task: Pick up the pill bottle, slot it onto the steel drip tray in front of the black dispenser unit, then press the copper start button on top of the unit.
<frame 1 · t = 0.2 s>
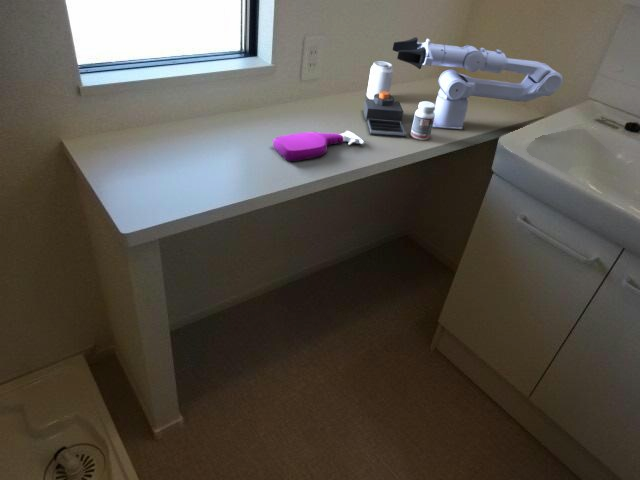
hand: (395, 50, 139), 21 cm above the table, tool horizontal, fingers open, 7 cm apart
drip tray: (385, 130, 146), on the table
spray bottle: (319, 148, 132), on the table
can: (376, 99, 166), on the table
pill bottle: (419, 136, 144), on the table
dispenser: (381, 117, 153), on the table
start button: (384, 95, 151), point 6 cm above the table, slide at 0.1 cm
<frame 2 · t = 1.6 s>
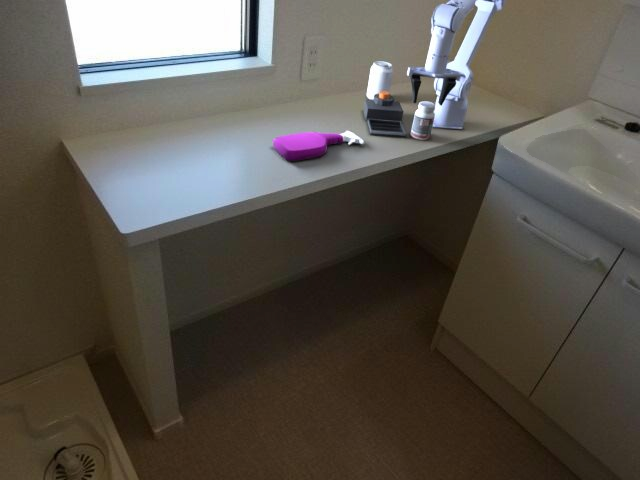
hand: (427, 103, 138), 10 cm above the table, tool pointing down, fingers open, 7 cm apart
nothing on the table moved.
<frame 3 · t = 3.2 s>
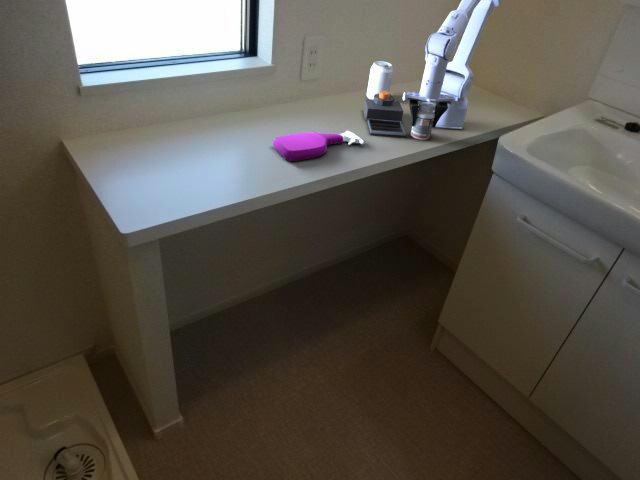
hand: (422, 125, 142), 3 cm above the table, tool pointing down, fingers closed on pill bottle, 5 cm apart
pill bottle: (419, 136, 144), on the table, touching gripper
everything else where it was.
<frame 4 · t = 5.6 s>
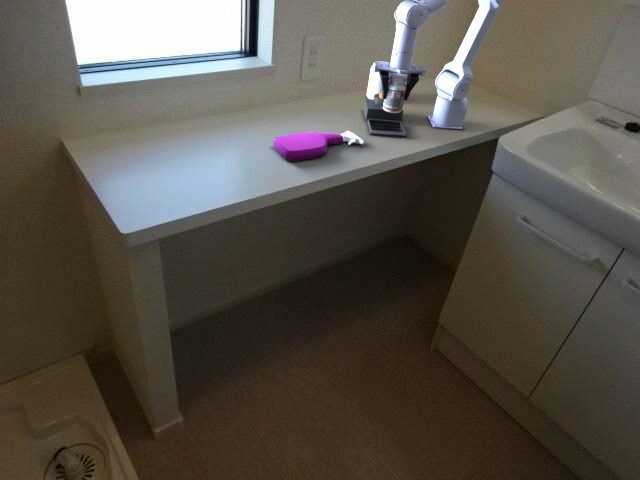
hand: (394, 98, 140), 10 cm above the table, tool pointing down, fingers closed on pill bottle, 5 cm apart
pill bottle: (392, 110, 142), point 6 cm above the table, touching gripper
everything else where it was.
when the fingers open (4 cm above the table, at t = 7.9 s): pill bottle stays where it is, resting on drip tray.
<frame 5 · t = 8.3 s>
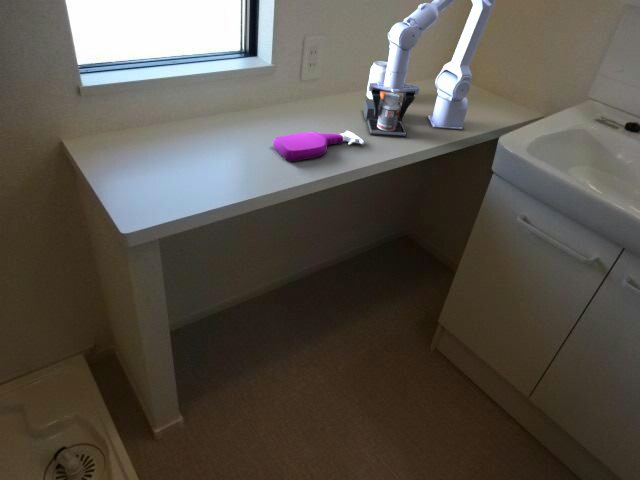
hand: (388, 116, 143), 4 cm above the table, tool pointing down, fingers open, 7 cm apart
pill bottle: (386, 128, 145), point 1 cm above the table, touching drip tray
everything else where it was.
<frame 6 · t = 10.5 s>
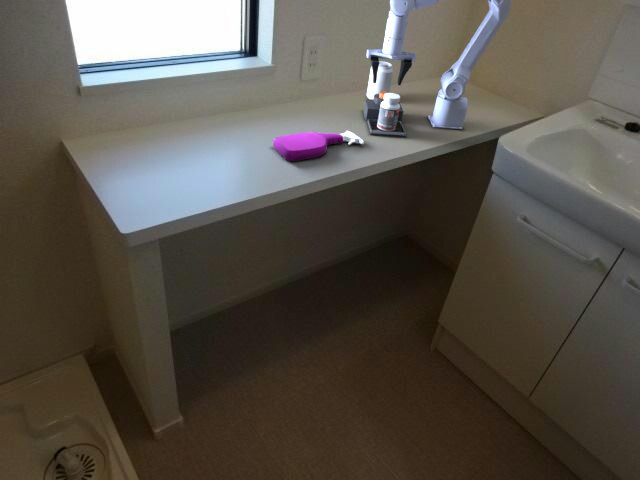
hand: (386, 83, 148), 10 cm above the table, tool pointing down, fingers open, 7 cm apart
nothing on the table moved.
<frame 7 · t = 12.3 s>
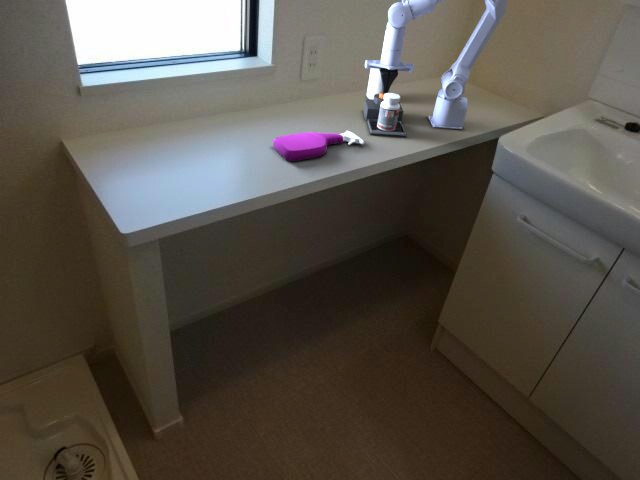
hand: (384, 93, 150), 7 cm above the table, tool pointing down, fingers closed, pressing on start button
start button: (384, 95, 151), point 6 cm above the table, slide at 0.0 cm, touching gripper
everything else where it was.
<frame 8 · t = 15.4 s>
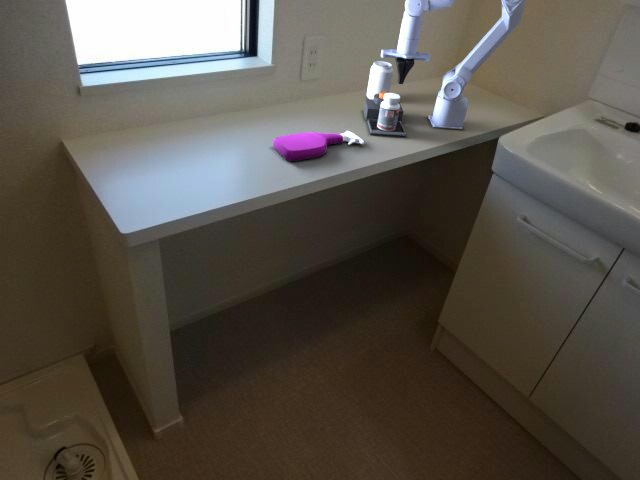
hand: (400, 83, 150), 10 cm above the table, tool pointing down, fingers closed
start button: (384, 95, 151), point 6 cm above the table, slide at 0.1 cm
everything else where it was.
at the end: pill bottle 0.0 cm off-centre on the drip tray, point 0.5 cm above the drip tray's base; start button pushed in 1.0 cm at the most during the clip, back to where it started at the end; start button slide at 0.1 cm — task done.
